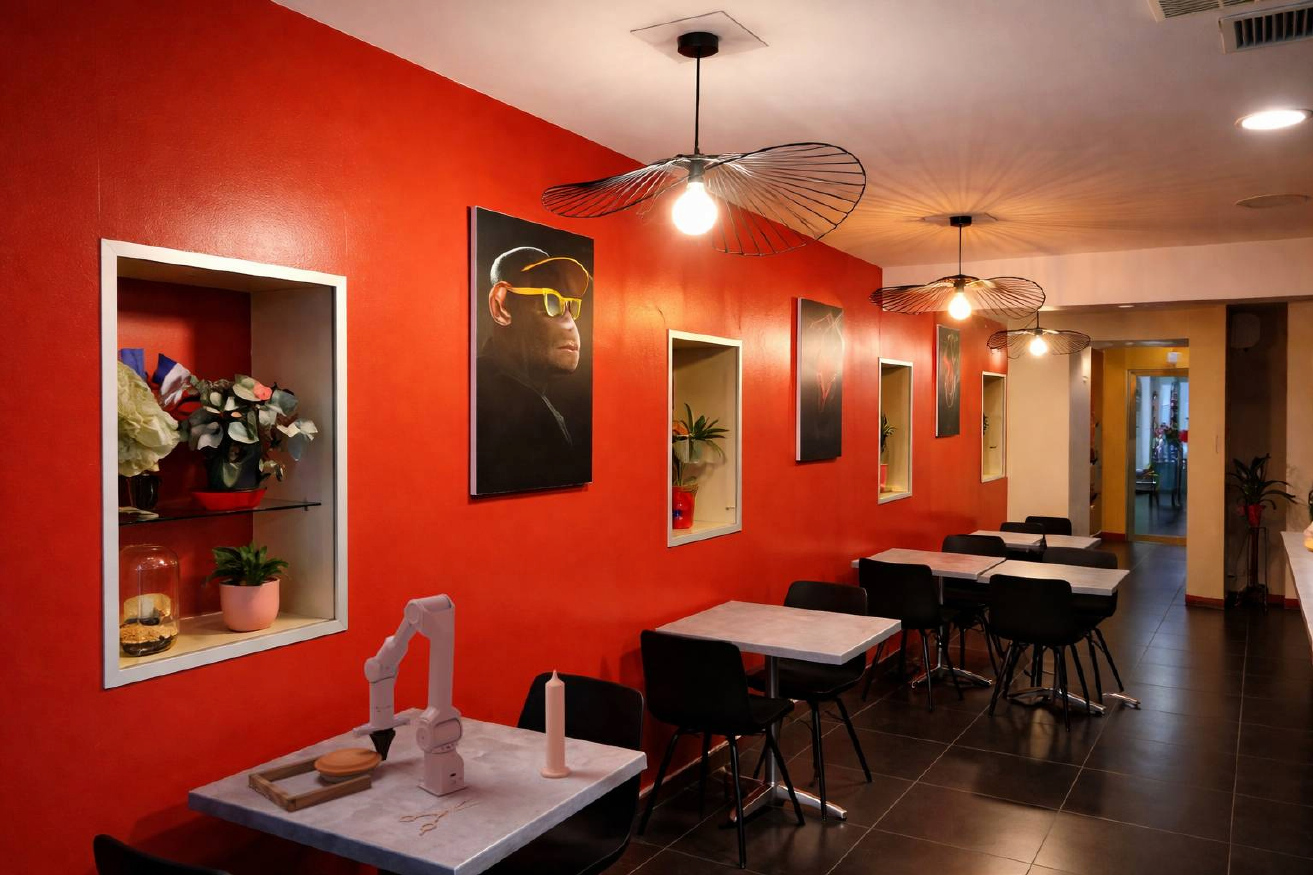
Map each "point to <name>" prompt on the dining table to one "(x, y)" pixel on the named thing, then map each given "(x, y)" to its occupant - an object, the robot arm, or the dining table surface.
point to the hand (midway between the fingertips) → (382, 759)
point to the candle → (555, 730)
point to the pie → (347, 764)
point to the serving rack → (303, 800)
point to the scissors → (439, 814)
